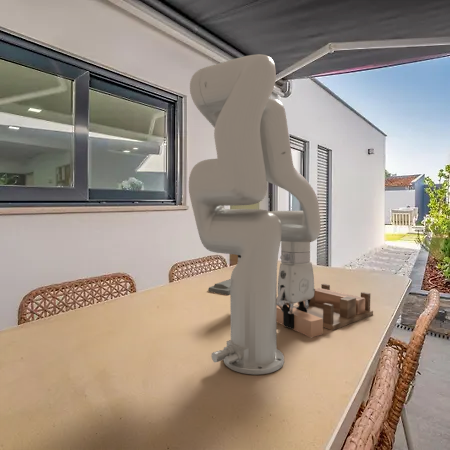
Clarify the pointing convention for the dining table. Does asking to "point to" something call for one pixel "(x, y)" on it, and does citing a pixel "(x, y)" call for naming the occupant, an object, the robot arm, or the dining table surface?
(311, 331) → the slat
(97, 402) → the dining table surface
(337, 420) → the dining table surface
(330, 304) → the rack
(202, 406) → the dining table surface
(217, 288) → the soap mold
